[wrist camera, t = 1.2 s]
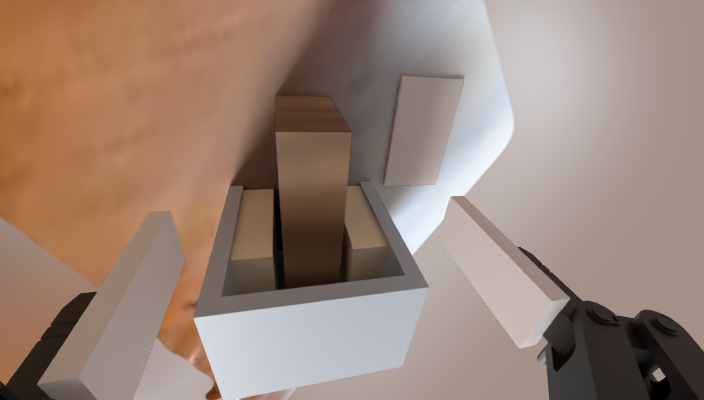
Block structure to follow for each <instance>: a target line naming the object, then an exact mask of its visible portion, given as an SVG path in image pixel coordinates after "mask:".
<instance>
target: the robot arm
mask: <svg viewBox="0 0 704 400" xmlns="http://www.w3.org/2000/svg"><path fill="white" fill-rule="evenodd" d="M438 238H439V239H440V241H441V242H442V243H443V245H444V246H445V248H446V249H447V250H448V251H449V253H450V254H451V256H452V257H453V259H454V260H455V261H456V263H457V264H458V265H459V267H460V268H461V269H462V271H463V272H464V274H465V275H466V276H467V278H468V279H469V281H470V282H471V283H472V284H473V286H474V287H475V289H476V290H477V292H478V293H479V294H480V296H481V297H482V298H483V299H484V301H485V302H486V304H487V305H488V307H489V308H490V309H491V311H492V312H493V313H494V315H495V316H496V318H497V319H498V320H499V322H500V323H501V324H502V326H503V327H504V328H505V330H506V331H507V333H508V334H509V335H510V337H511V338H512V339H513V341H514V342H515V344H516V345H517V346H518V347H519V348H523V347H529V346H534V345H536V344H537V342H538V341H539V340H540V338H541V337H542V336H544V337H545V339H546V340H547V341H548V344H547V345H546V346H545V347H544V349H543V350H542V351H541V352H540V354H539V355H538V357H537V361H539V362H540V361H541V360H542V359H543V358H544V356H546V362H545V365H547V376H548V389H549V400H704V351H703V350H702V349H701V348H700V347H699V345H698V344H697V343H696V342H695V341H694V340H693V338H691V336H690V335H689V334H688V333H687V331H685V329H684V328H683V327H682V326H680V325H679V324H678V323H677V322H675V321H674V320H672V319H671V318H669V317H668V316H665V315H663V314H661V313H658V312H655V311H652V310H643V311H640V312H639V313H638V314H637V315H636V316H635V318H629V317H623V316H616V315H615V314H614V313H613V312H612V311H610V310H609V309H607V308H606V307H604V306H602V305H600V304H598V303H594V302H591V301H582V300H581V299H580V298H579V297H577V296H576V295H575V294H574V293H573V292H572V291H571V290H570V289H569V288H568V287H567V286H566V285H565V284H564V283H563V282H562V281H560V280H559V279H558V278H557V277H556V276H555V275H554V274H553V273H550V270H549V269H548V268H546V267H545V266H544V265H542V263H541V262H540V261H539V260H538V259H537V258H536V257H535V256H534V255H532V254H531V253H529V252H527V251H526V250H524V249H523V248H521V247H516V246H515V245H514V244H513V243H512V242H511V241H510V240H509V239H508V238H507V237H506V236H505V235H504V234H503V233H502V232H501V231H499V229H498V228H497V227H495V226H494V225H493V224H492V223H491V222H490V221H489V220H488V219H487V218H486V217H485V216H484V215H483V214H482V213H481V212H480V211H479V210H478V209H477V208H476V207H475V206H474V205H473V204H471V203H470V202H469V201H468V200H467V199H466V198H465V197H464V196H452V197H450V200H449V203H448V207H447V210H446V213H445V216H444V219H443V223H442V226H441V229H440V232H439V235H438ZM185 260H186V259H185V255H184V252H183V249H182V246H181V243H180V240H179V236H178V233H177V230H176V227H175V224H174V221H173V217H172V214H171V211H162V212H149V214H148V215H147V217H146V219H145V220H144V222H143V223H142V225H141V226H140V228H139V229H138V231H137V232H136V234H135V235H134V237H133V238H132V240H131V241H130V243H129V244H128V246H127V247H126V249H125V251H124V252H123V254H122V255H121V257H120V258H119V260H118V261H117V263H116V264H115V266H114V267H113V269H112V270H111V272H110V273H109V275H108V276H107V278H106V280H105V281H104V283H103V284H102V286H101V287H100V289H99V290H98V292H90V293H81V294H79V295H78V296H77V297H76V298H74V299H73V300H72V301H71V302H70V303H68V304H67V305H66V306H65V307H64V308H62V310H61V311H60V312H59V314H58V315H57V317H56V318H55V319H54V321H53V322H52V323H51V327H49V328H48V329H47V330H46V331H45V333H44V334H43V336H42V337H41V341H38V342H37V344H36V345H35V346H34V348H33V349H32V350H31V352H30V353H29V355H28V356H27V357H26V359H25V360H24V361H23V363H22V364H21V366H20V367H19V368H18V369H17V371H16V372H15V373H14V375H13V376H12V378H11V379H10V380H9V382H8V383H7V384H6V386H5V385H4V384H3V383H2V382H1V381H0V400H133V397H134V395H135V392H136V390H137V387H138V384H139V382H140V379H141V376H142V374H143V371H144V369H145V366H146V363H147V360H148V358H149V355H150V353H151V350H152V347H153V345H154V342H155V339H156V337H157V334H158V332H159V329H160V326H161V324H162V321H163V318H164V316H165V313H166V310H167V308H168V305H169V302H170V300H171V297H172V295H173V292H174V289H175V287H176V284H177V281H178V279H179V276H180V273H181V271H182V268H183V265H184V263H185ZM658 368H660V369H661V370H662V372H663V374H664V375H665V376H666V377H665V378H664V379H663V380H661V381H659V382H658V381H657V380H656V379H655V377H654V376H653V374H652V373H653V372H654V371H655V370H657V369H658Z"/></svg>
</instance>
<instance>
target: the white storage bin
mask: <svg viewBox="0 0 704 400" xmlns="http://www.w3.org/2000/svg"><path fill="white" fill-rule="evenodd" d="M428 289H429V286H428V284H427V283H426V281H425V279H424V277H423V275H422V273H421V271H420V270H419V268H418V266H417V264H416V262H415V261H414V259H413V257H412V255H411V253H410V251H409V250H408V248H407V246H406V244H405V242H404V241H403V239H402V237H401V235H400V233H399V232H398V230H397V228H396V226H395V224H394V223H393V221H392V219H391V217H390V215H389V213H388V212H387V210H386V208H385V206H384V204H383V203H382V201H381V199H380V197H379V195H378V194H377V192H376V190H375V188H374V186H373V184H372V183H371V181H360V184H359V186H347V197H346V208H345V220H344V232H343V243H342V255H341V266H340V278H339V283H336V284H327V285H319V286H310V287H302V288H293V289H286V287H285V272H284V256H283V250H282V251H278V239H277V226H276V213H275V201H274V189H257V190H244V189H243V186H230V187H229V190H228V194H227V198H226V201H225V205H224V208H223V212H222V216H221V219H220V223H219V227H218V230H217V234H216V238H215V241H214V245H213V249H212V252H211V256H210V260H209V263H208V267H207V271H206V274H205V278H204V282H203V285H202V289H201V293H200V296H199V300H198V303H197V307H196V311H195V314H194V321H195V324H196V326H197V329H198V332H199V335H200V337H201V340H202V343H203V346H204V349H205V351H206V354H207V357H208V360H209V362H210V365H211V368H212V371H213V373H214V376H215V379H216V382H217V385H218V387H219V390H220V393H221V396H222V398H223V400H233V399H239V398H244V397H249V396H254V395H259V394H264V393H270V392H275V391H280V390H285V389H290V388H295V387H300V386H305V385H310V384H315V383H321V382H325V381H331V380H336V379H341V378H346V377H351V376H356V375H361V374H366V373H371V372H377V371H382V370H386V369H392V368H397V367H402V365H403V362H404V359H405V356H406V353H407V350H408V347H409V344H410V341H411V338H412V336H413V333H414V330H415V327H416V324H417V321H418V318H419V315H420V312H421V310H422V307H423V303H424V301H425V298H426V295H427V292H428Z"/></svg>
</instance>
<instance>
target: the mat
mask: <svg viewBox="0 0 704 400" xmlns="http://www.w3.org/2000/svg"><path fill="white" fill-rule="evenodd" d="M463 83H464V79H455V78H437V77H419V76H401V81H400V87H399V93H398V99H397V105H396V111H395V117H394V123H393V129H392V135H391V141H390V147H389V153H388V159H387V166H386V172H385V178H384V184H383V185H384V187H385V186H410V185H435V183H436V179H437V176H438V172H439V169H440V165H441V162H442V158H443V154H444V151H445V147H446V144H447V140H448V137H449V133H450V129H451V126H452V122H453V119H454V115H455V112H456V108H457V104H458V101H459V97H460V94H461V90H462V87H463Z"/></svg>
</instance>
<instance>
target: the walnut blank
mask: <svg viewBox="0 0 704 400" xmlns="http://www.w3.org/2000/svg"><path fill="white" fill-rule="evenodd" d="M275 135H276V150H277V165H278V180H279V196H280V211H281V226H282V241H283V256H284V272H285V287H286V289H293V288H302V287H310V286H319V285H327V284H336V283H339V278H340V266H341V255H342V243H343V232H344V220H345V208H346V197H347V185H348V174H349V162H350V150H351V139H352V132H351V130H350V128H349V127H348V125H347V124H346V122H345V120H344V119H343V117H342V116H341V114H340V112H339V111H338V109H337V108H336V106H335V104H334V103H333V101H332V100H331V98H330V97H326V96H298V95H276V113H275Z"/></svg>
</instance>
